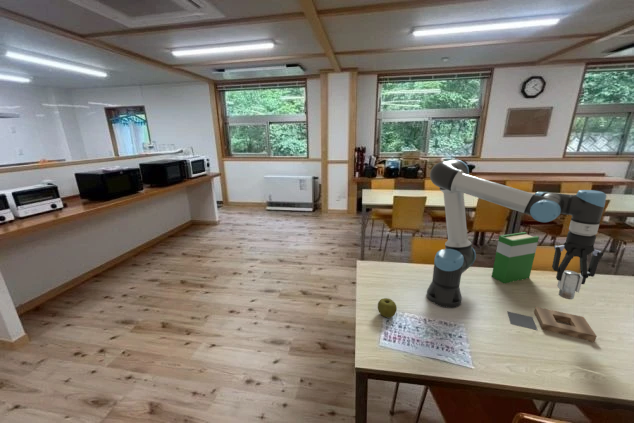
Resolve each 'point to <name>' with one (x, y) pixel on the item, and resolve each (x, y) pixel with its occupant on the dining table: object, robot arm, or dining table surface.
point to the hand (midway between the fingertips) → (567, 289)
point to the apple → (387, 307)
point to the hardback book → (514, 257)
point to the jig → (575, 328)
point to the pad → (522, 320)
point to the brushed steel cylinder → (569, 284)
